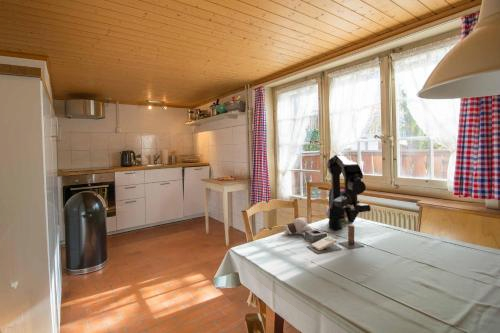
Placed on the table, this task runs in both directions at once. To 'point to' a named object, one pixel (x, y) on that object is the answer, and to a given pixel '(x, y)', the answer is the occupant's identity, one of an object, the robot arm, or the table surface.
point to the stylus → (351, 234)
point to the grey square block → (314, 235)
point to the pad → (356, 245)
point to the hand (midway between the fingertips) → (351, 222)
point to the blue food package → (345, 220)
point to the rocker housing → (325, 249)
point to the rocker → (324, 243)
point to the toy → (297, 226)
